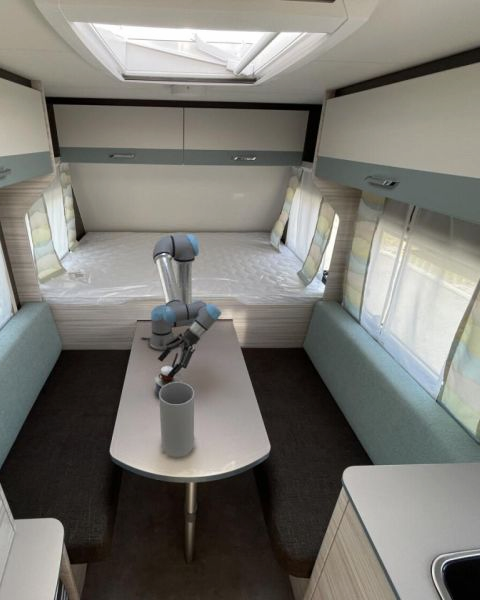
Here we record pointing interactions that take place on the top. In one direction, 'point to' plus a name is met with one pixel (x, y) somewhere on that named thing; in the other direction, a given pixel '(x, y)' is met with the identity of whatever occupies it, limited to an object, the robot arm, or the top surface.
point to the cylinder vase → (177, 418)
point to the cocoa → (167, 370)
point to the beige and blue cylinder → (162, 382)
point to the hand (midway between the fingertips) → (164, 368)
